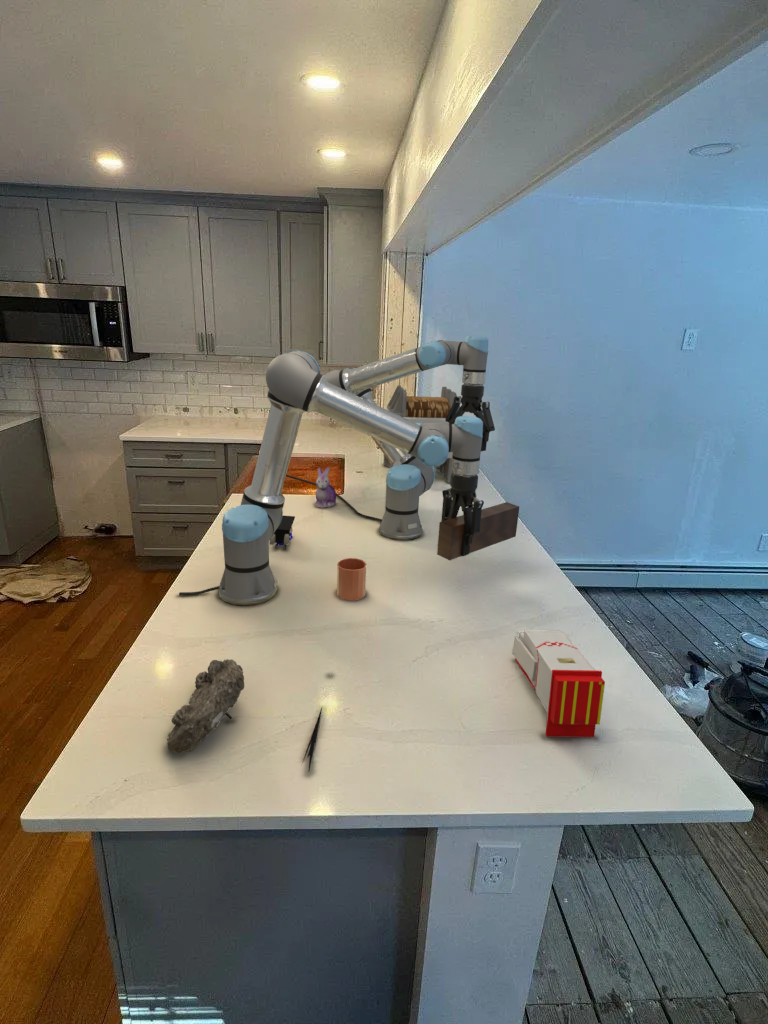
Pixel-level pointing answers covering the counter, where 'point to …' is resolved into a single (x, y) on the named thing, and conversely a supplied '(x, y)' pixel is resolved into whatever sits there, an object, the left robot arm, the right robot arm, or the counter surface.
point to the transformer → (424, 415)
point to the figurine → (324, 490)
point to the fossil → (206, 705)
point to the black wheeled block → (283, 532)
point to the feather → (313, 740)
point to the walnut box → (493, 529)
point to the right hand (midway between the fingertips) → (467, 446)
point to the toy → (561, 681)
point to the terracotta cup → (351, 579)
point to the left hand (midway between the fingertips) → (457, 551)
